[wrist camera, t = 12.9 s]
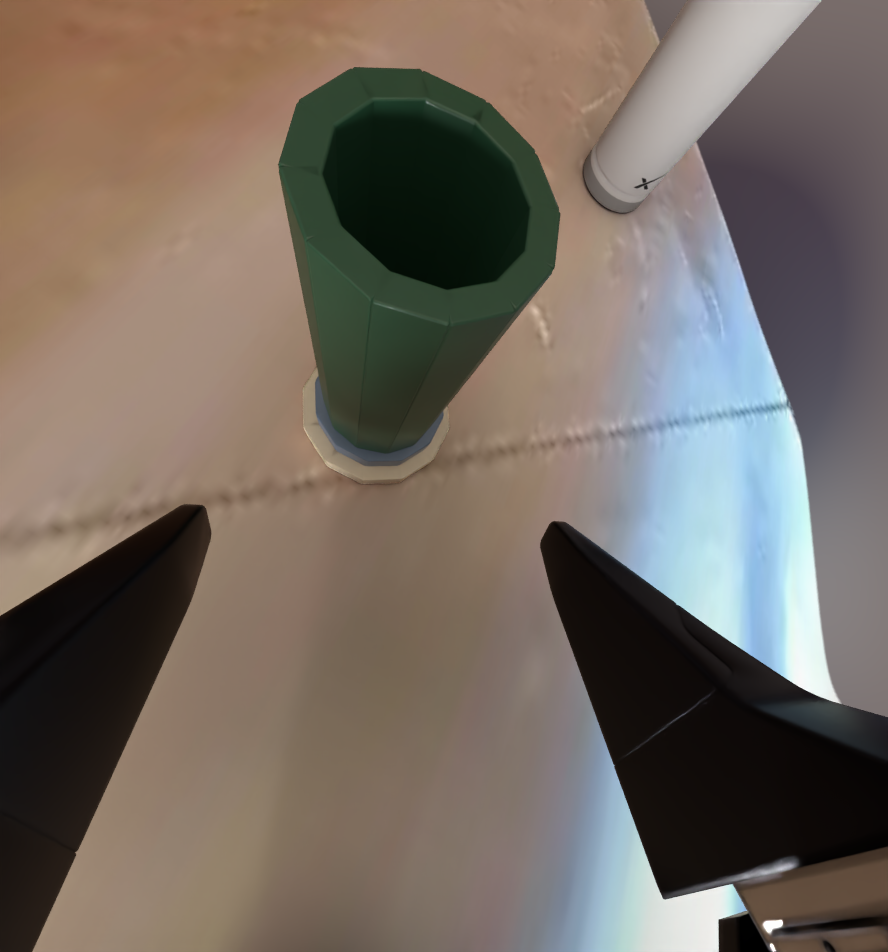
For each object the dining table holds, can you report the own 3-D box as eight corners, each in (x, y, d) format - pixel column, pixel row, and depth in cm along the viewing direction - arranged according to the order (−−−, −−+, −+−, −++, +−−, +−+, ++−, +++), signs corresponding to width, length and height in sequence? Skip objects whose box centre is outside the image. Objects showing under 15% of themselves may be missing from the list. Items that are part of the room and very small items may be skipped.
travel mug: (632, 229, 31) (1079, -244, 12) (572, 186, 30) (959, -409, 11) (650, 182, 33) (1071, -303, 14) (594, 139, 32) (966, -454, 13)
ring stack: (465, 441, 24) (483, 427, 21) (355, 510, 21) (356, 506, 18) (397, 335, 24) (404, 304, 21) (278, 391, 21) (265, 366, 18)
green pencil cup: (449, 434, 20) (595, 295, 8) (346, 466, 18) (343, 348, 6) (413, 339, 20) (504, 70, 8) (309, 361, 19) (240, 61, 7)
